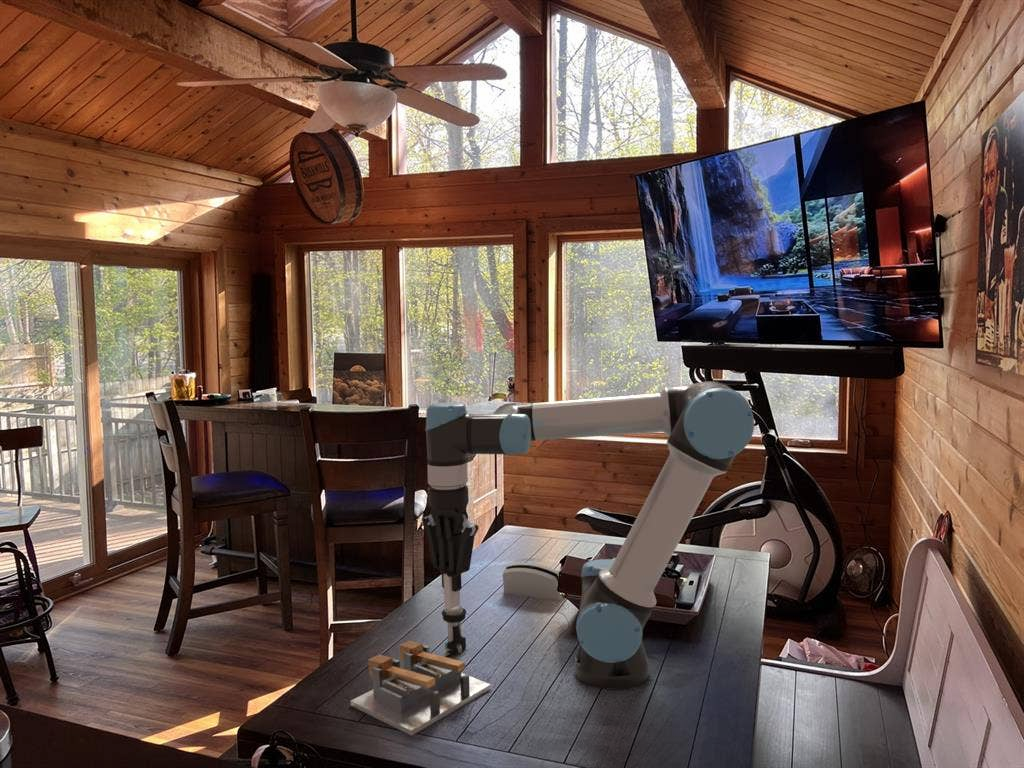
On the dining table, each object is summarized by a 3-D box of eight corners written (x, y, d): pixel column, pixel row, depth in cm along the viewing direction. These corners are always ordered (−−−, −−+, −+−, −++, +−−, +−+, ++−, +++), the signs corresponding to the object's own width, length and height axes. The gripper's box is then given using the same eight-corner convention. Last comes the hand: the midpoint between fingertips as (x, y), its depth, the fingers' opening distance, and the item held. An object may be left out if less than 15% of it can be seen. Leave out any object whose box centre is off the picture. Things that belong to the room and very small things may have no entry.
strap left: (369, 676, 150) (368, 659, 150) (381, 671, 152) (379, 654, 152) (426, 693, 139) (424, 675, 139) (437, 687, 141) (435, 669, 141)
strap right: (400, 661, 156) (399, 645, 156) (411, 656, 158) (409, 640, 158) (457, 677, 145) (455, 659, 145) (467, 671, 147) (465, 654, 147)
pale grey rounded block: (568, 594, 200) (563, 563, 196) (562, 606, 196) (557, 575, 192) (511, 586, 207) (504, 556, 203) (504, 597, 203) (497, 567, 199)
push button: (453, 661, 163) (451, 616, 162) (434, 655, 166) (432, 611, 165) (472, 649, 169) (470, 605, 168) (453, 644, 172) (452, 601, 171)
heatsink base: (490, 689, 151) (489, 657, 150) (411, 735, 135) (410, 700, 134) (430, 665, 162) (429, 635, 161) (350, 705, 146) (349, 672, 145)
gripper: (487, 485, 143) (490, 607, 145) (438, 477, 151) (442, 592, 154) (459, 493, 137) (463, 620, 139) (409, 484, 146) (414, 604, 148)
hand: (452, 605), depth 147 cm, fingers closed
